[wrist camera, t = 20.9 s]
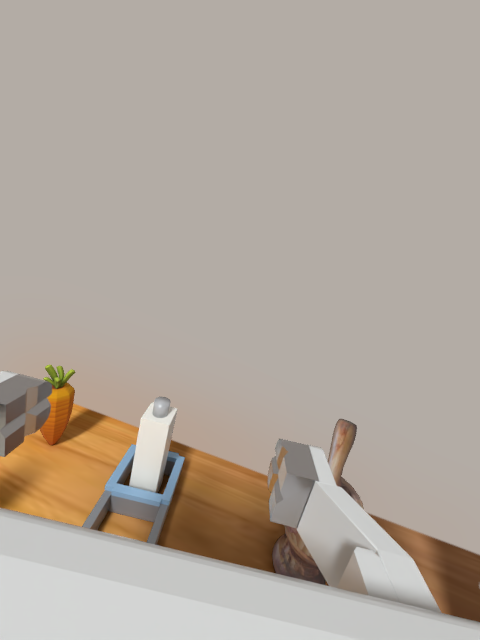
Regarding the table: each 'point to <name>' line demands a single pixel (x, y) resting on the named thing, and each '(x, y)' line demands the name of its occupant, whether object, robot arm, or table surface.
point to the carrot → (58, 404)
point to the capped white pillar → (153, 445)
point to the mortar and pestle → (290, 546)
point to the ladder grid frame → (137, 496)
